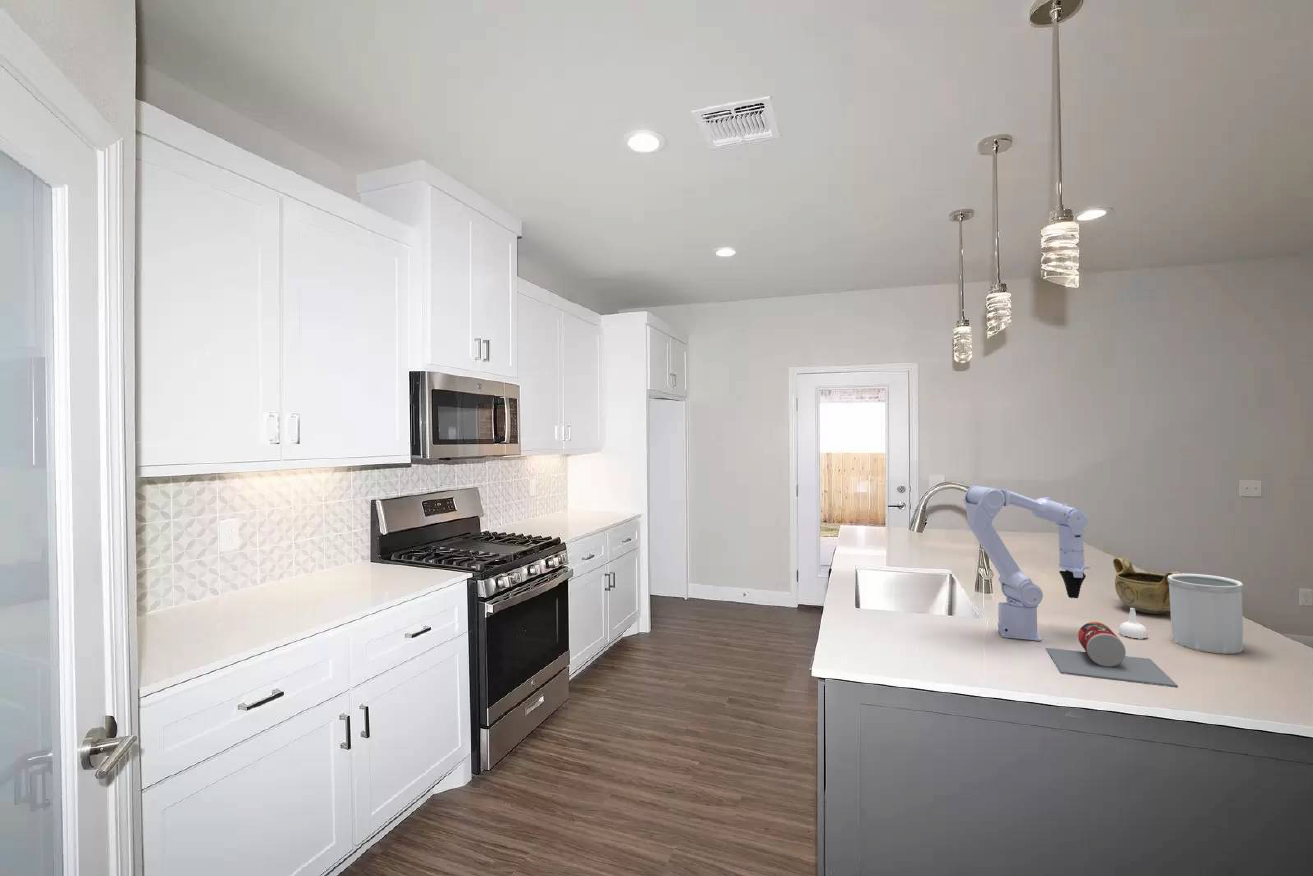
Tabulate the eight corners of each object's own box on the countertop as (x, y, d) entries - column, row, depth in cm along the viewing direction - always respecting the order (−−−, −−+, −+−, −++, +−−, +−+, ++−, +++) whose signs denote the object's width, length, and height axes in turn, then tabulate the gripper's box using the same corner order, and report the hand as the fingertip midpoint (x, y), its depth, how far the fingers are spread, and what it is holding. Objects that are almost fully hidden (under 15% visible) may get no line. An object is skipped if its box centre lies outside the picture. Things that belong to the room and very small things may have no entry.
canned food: (1114, 623, 152) (1127, 637, 142) (1112, 654, 152) (1124, 670, 142) (1078, 618, 155) (1088, 631, 145) (1076, 648, 155) (1086, 663, 145)
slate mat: (1060, 673, 141) (1060, 671, 141) (1046, 649, 157) (1046, 647, 157) (1177, 687, 133) (1177, 685, 133) (1150, 660, 148) (1150, 658, 148)
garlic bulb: (1152, 642, 162) (1155, 613, 162) (1126, 639, 163) (1129, 610, 163) (1138, 635, 168) (1141, 607, 168) (1113, 631, 170) (1116, 604, 169)
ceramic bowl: (1094, 602, 198) (1094, 557, 198) (1142, 600, 199) (1142, 556, 199) (1155, 623, 176) (1154, 573, 176) (1209, 621, 177) (1208, 571, 177)
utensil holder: (1167, 646, 158) (1166, 580, 158) (1169, 632, 168) (1168, 570, 168) (1245, 659, 148) (1244, 589, 147) (1242, 643, 158) (1241, 578, 158)
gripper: (1095, 555, 160) (1097, 605, 160) (1081, 545, 173) (1083, 591, 173) (1064, 554, 163) (1066, 603, 163) (1053, 544, 176) (1054, 590, 176)
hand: (1073, 597), depth 168 cm, fingers closed
